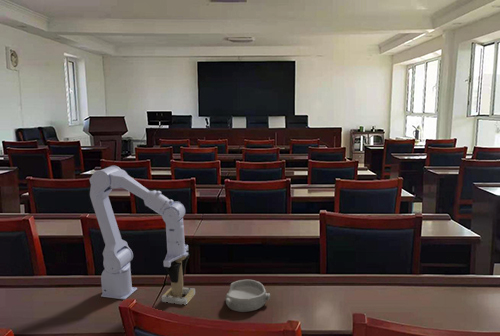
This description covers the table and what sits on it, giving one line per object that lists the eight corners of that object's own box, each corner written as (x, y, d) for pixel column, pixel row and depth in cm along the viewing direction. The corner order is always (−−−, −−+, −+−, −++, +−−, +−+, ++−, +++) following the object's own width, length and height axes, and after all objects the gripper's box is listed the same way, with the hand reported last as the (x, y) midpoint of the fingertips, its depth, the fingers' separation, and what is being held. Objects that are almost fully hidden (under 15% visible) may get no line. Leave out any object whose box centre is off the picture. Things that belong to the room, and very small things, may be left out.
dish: (227, 316, 126) (226, 301, 125) (222, 294, 140) (222, 281, 139) (273, 311, 128) (272, 296, 128) (264, 290, 142) (264, 277, 141)
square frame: (162, 301, 135) (161, 295, 135) (172, 291, 143) (172, 285, 142) (186, 305, 133) (185, 298, 133) (195, 293, 140) (195, 288, 140)
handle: (184, 300, 134) (183, 257, 132) (165, 299, 135) (164, 256, 133) (188, 294, 139) (188, 251, 137) (170, 292, 140) (169, 250, 138)
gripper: (177, 248, 126) (179, 289, 129) (195, 233, 140) (197, 270, 142) (156, 247, 128) (159, 287, 130) (176, 231, 142) (178, 268, 144)
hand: (177, 278), depth 137 cm, fingers closed on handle, 4 cm apart
